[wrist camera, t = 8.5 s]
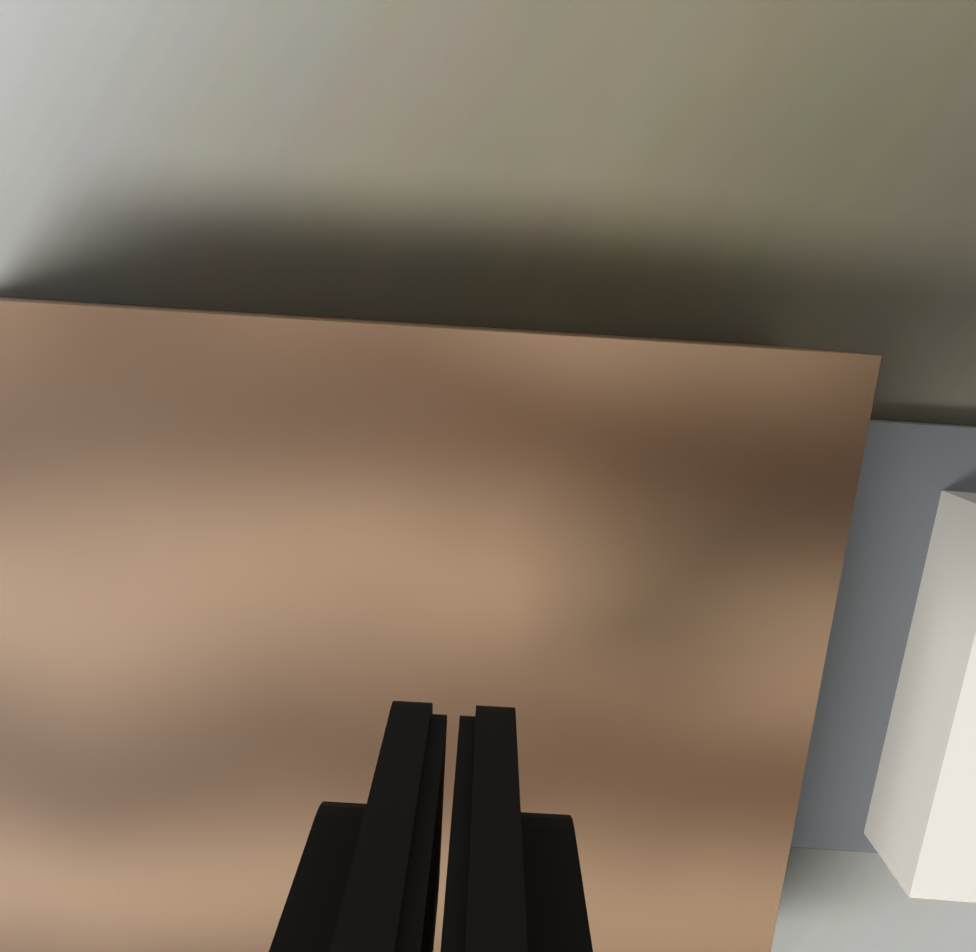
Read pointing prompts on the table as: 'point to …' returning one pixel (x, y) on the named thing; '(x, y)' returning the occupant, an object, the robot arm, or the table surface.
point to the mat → (875, 620)
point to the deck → (404, 605)
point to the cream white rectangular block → (934, 725)
